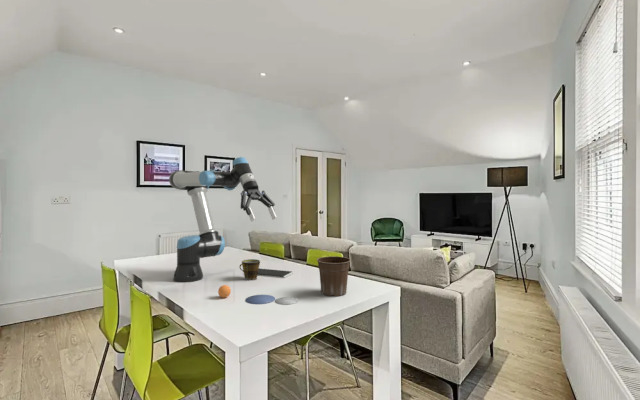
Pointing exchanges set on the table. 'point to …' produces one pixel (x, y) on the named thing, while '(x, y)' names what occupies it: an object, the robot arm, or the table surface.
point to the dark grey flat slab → (274, 273)
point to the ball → (224, 291)
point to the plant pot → (333, 275)
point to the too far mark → (286, 300)
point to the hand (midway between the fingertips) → (264, 219)
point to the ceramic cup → (250, 268)
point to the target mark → (260, 299)
